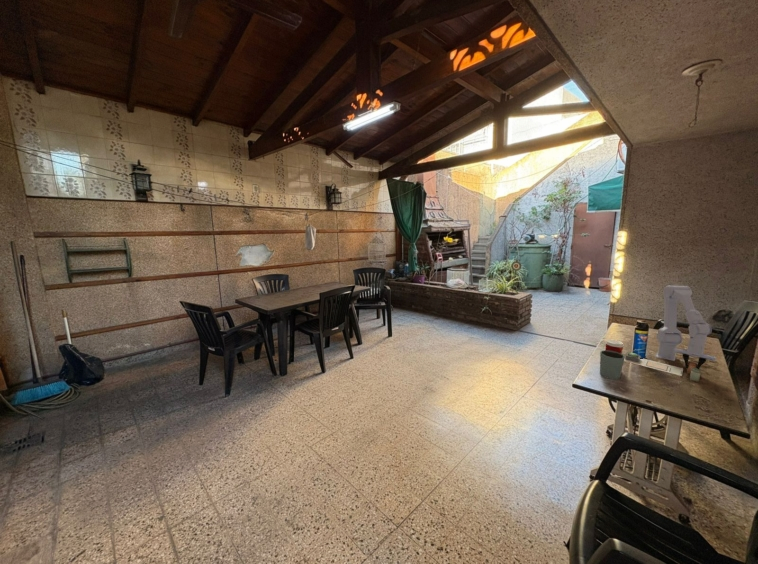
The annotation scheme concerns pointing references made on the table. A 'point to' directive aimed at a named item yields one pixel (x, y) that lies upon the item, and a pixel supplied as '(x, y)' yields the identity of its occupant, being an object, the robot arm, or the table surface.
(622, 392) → the table surface
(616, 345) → the coffee cup
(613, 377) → the green round bin
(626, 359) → the button housing
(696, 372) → the sage marker
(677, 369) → the white flat panel
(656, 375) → the table surface
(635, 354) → the button
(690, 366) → the brown rounded cylinder
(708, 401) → the table surface
